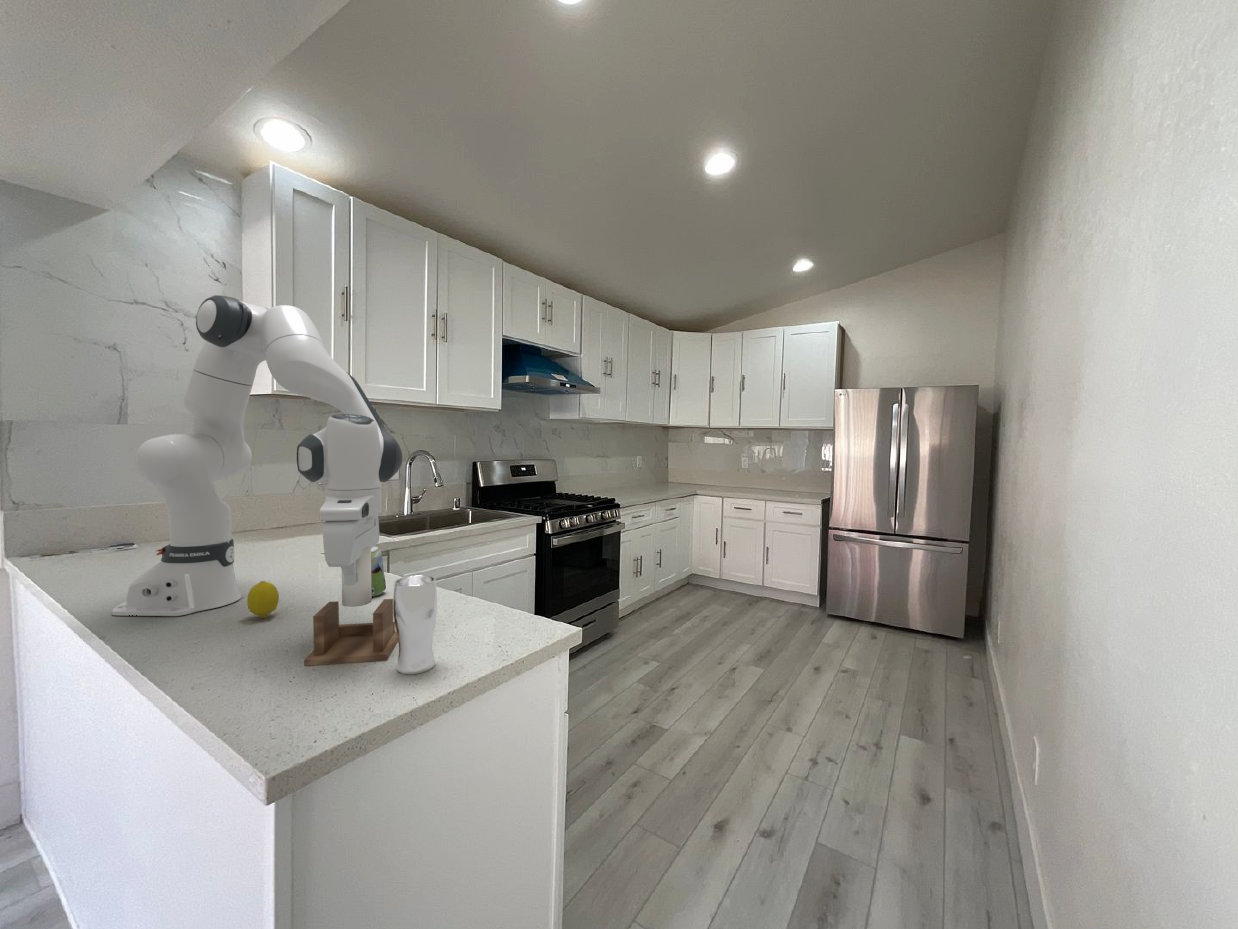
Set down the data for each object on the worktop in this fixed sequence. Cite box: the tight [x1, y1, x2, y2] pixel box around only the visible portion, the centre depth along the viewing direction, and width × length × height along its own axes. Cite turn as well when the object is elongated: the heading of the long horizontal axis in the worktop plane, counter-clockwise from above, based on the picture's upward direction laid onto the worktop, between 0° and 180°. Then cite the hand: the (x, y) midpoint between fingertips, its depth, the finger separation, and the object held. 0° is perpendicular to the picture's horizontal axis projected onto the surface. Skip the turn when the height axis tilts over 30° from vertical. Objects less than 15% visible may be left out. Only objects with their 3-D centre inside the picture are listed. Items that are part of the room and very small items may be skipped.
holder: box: [303, 598, 399, 666], centre depth 94 cm, size 13×11×8 cm
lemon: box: [246, 580, 280, 619], centre depth 110 cm, size 6×6×8 cm
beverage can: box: [371, 545, 387, 597], centre depth 126 cm, size 6×7×12 cm
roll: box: [341, 546, 373, 608], centre depth 94 cm, size 5×5×10 cm
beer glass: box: [392, 574, 438, 675], centre depth 88 cm, size 7×7×15 cm
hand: (356, 579), depth 94 cm, fingers closed on roll, 5 cm apart
